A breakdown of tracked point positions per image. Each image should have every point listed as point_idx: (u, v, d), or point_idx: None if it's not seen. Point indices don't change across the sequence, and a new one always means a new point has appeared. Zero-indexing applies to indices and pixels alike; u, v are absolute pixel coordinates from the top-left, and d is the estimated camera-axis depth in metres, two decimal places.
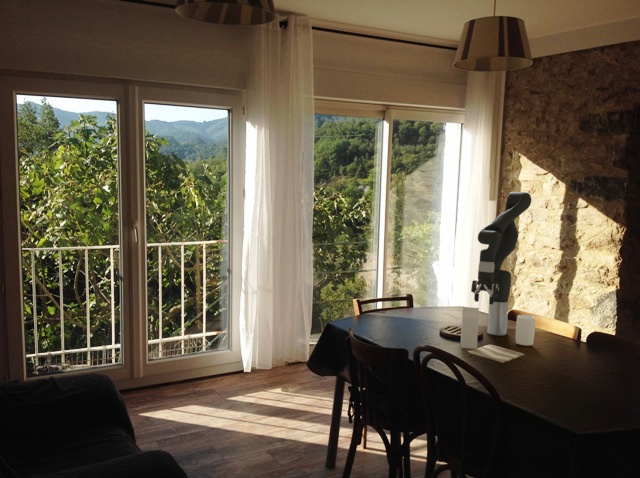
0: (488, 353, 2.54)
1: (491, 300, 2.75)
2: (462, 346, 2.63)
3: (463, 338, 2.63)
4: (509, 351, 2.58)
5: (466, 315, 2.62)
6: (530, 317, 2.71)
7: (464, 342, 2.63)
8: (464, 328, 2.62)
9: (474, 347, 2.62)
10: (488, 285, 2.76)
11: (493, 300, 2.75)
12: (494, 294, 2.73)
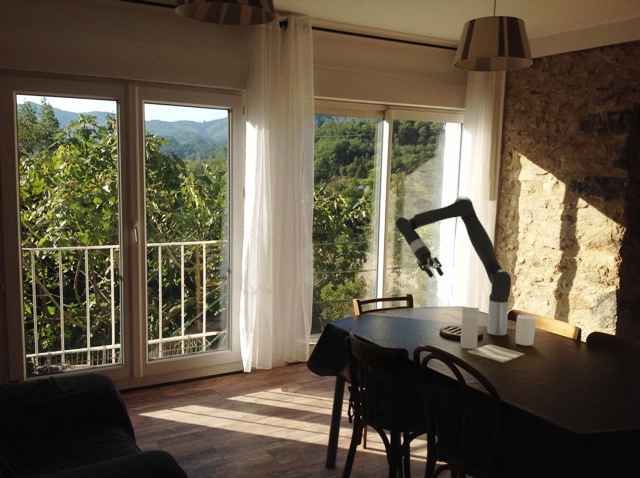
0: (488, 353, 2.54)
1: (428, 274, 2.76)
2: (462, 346, 2.63)
3: (463, 338, 2.63)
4: (509, 351, 2.58)
5: (466, 315, 2.62)
6: (530, 317, 2.71)
7: (464, 342, 2.63)
8: (464, 328, 2.62)
9: (474, 347, 2.62)
10: None
11: (428, 272, 2.75)
12: None
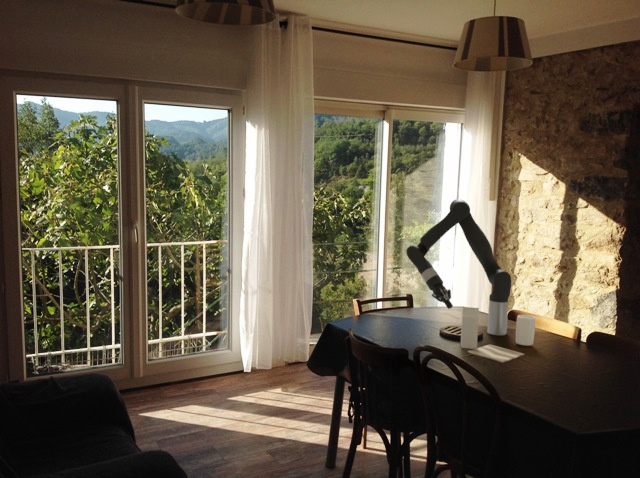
0: (488, 353, 2.54)
1: None
2: (462, 346, 2.63)
3: (463, 338, 2.63)
4: (509, 351, 2.58)
5: (466, 315, 2.62)
6: (530, 317, 2.71)
7: (464, 342, 2.63)
8: (464, 328, 2.62)
9: (474, 347, 2.62)
10: None
11: (447, 304, 2.73)
12: None
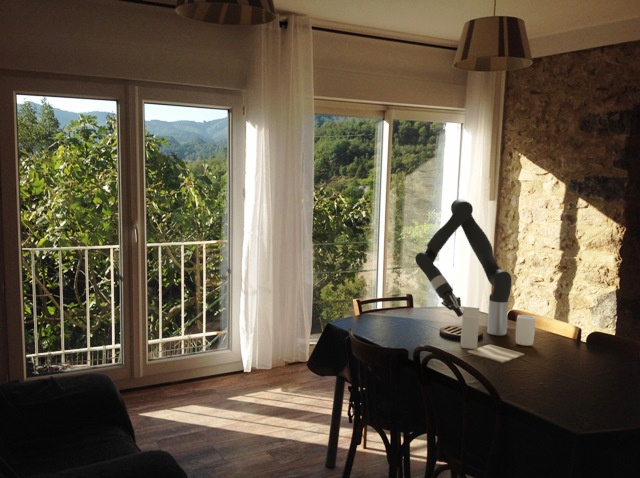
0: (488, 353, 2.54)
1: None
2: (462, 346, 2.63)
3: (463, 338, 2.63)
4: (509, 351, 2.58)
5: (467, 315, 2.62)
6: (530, 317, 2.71)
7: (464, 342, 2.63)
8: (465, 328, 2.62)
9: (474, 347, 2.62)
10: None
11: (457, 312, 2.68)
12: None
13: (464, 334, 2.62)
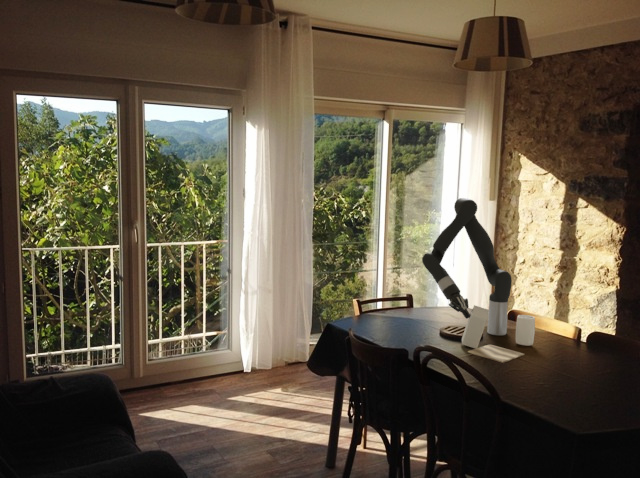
0: (488, 353, 2.54)
1: (464, 314, 2.66)
2: (463, 343, 2.63)
3: (466, 335, 2.62)
4: (509, 351, 2.58)
5: (475, 314, 2.61)
6: (530, 317, 2.71)
7: (466, 339, 2.62)
8: (470, 326, 2.61)
9: (475, 347, 2.62)
10: None
11: (464, 313, 2.65)
12: None
13: (468, 332, 2.62)
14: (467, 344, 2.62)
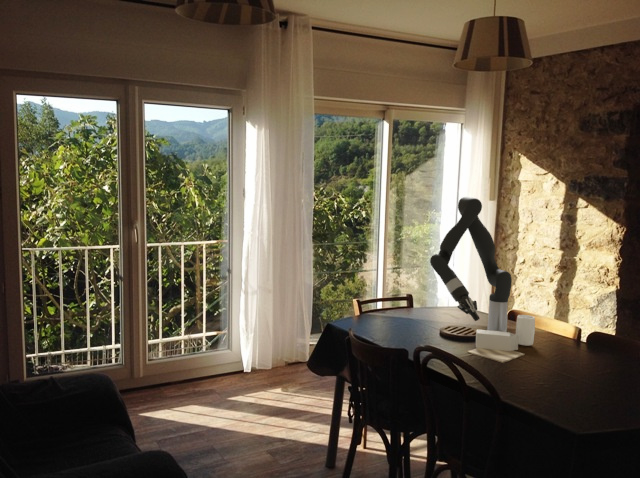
0: (488, 353, 2.54)
1: None
2: (478, 334, 2.61)
3: (487, 335, 2.60)
4: (509, 351, 2.58)
5: (511, 339, 2.59)
6: (530, 317, 2.71)
7: (482, 336, 2.61)
8: (497, 337, 2.59)
9: (477, 345, 2.62)
10: None
11: (473, 316, 2.61)
12: None
13: (491, 336, 2.60)
14: (478, 338, 2.61)
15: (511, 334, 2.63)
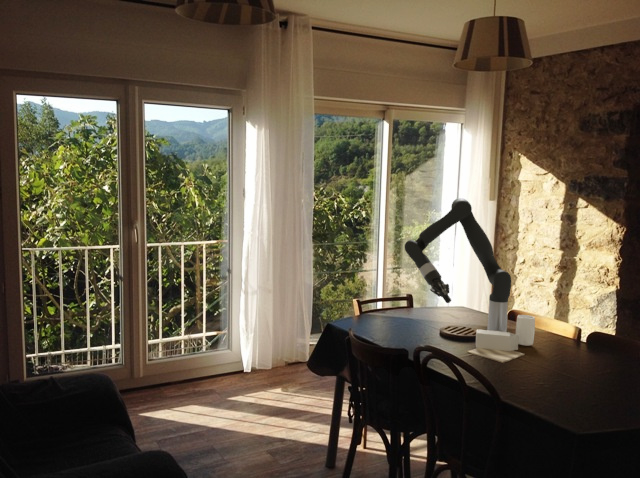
0: (488, 353, 2.54)
1: (445, 299, 2.74)
2: (478, 334, 2.61)
3: (487, 335, 2.60)
4: (509, 351, 2.58)
5: (511, 339, 2.59)
6: (530, 317, 2.71)
7: (482, 336, 2.61)
8: (497, 337, 2.59)
9: (477, 345, 2.62)
10: None
11: (445, 298, 2.73)
12: None
13: (491, 336, 2.60)
14: (478, 338, 2.61)
15: (511, 334, 2.63)
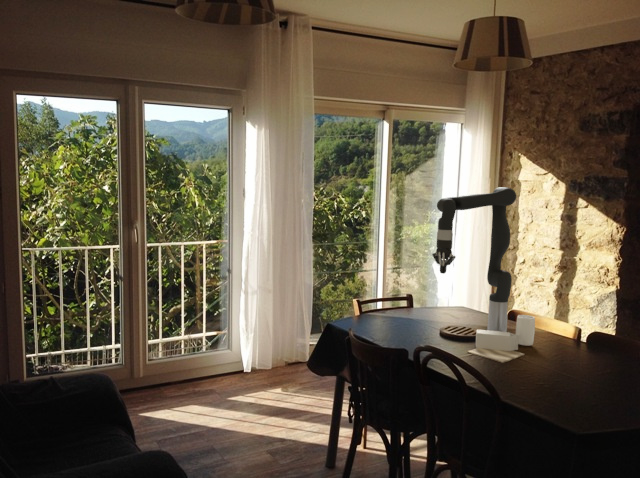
0: (488, 353, 2.54)
1: (443, 269, 2.79)
2: (478, 334, 2.61)
3: (487, 335, 2.60)
4: (509, 351, 2.58)
5: (511, 339, 2.59)
6: (530, 317, 2.71)
7: (482, 336, 2.61)
8: (497, 337, 2.59)
9: (477, 345, 2.62)
10: (446, 255, 2.76)
11: (445, 269, 2.79)
12: (446, 263, 2.77)
13: (491, 336, 2.60)
14: (478, 338, 2.61)
15: (511, 334, 2.63)
